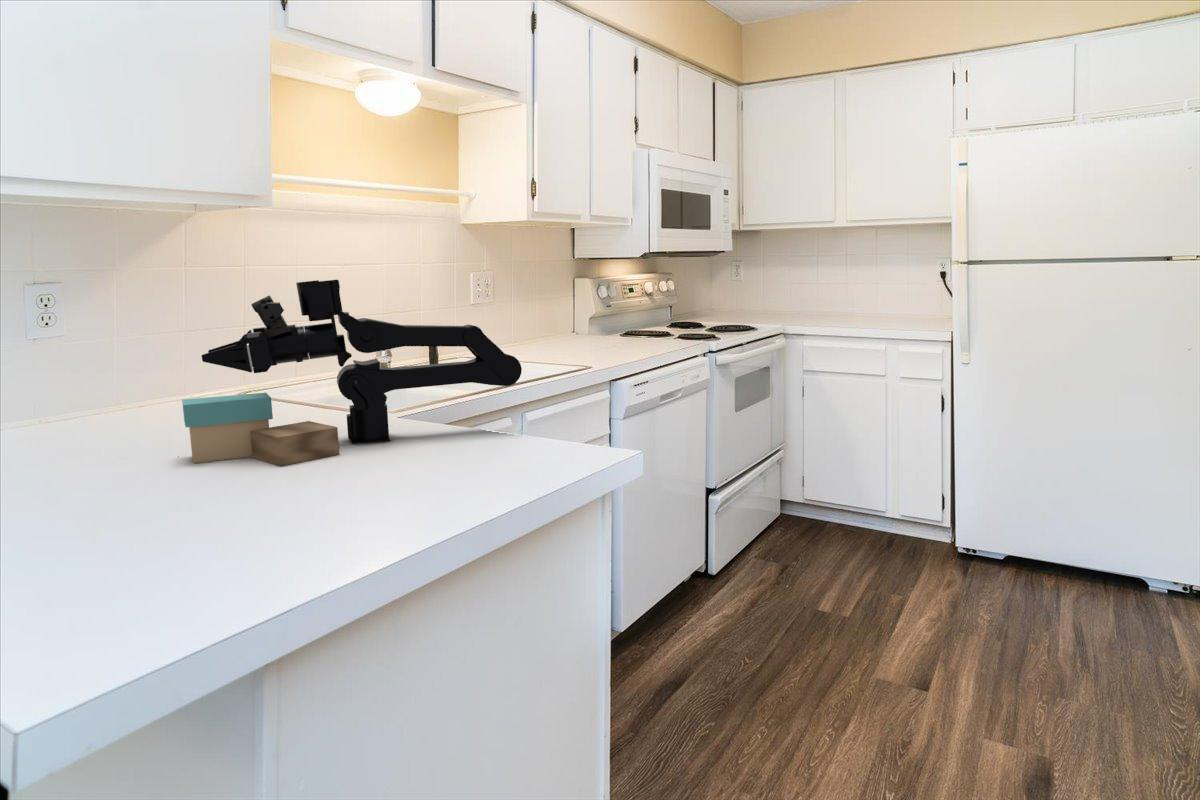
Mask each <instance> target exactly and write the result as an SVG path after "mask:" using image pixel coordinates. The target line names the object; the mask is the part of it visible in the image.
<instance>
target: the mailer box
mask: <svg viewBox="0 0 1200 800" xmlns="http://www.w3.org/2000/svg"><path fill="white" fill-rule="evenodd" d="M188 428H189V438H190V448H191V457H192V462H193V464H198V463H199V464H200V463H206V462H207V463H208V462H218V461H222V460H223V461H224V460H225V461H226V460H233V459H241V458H250V457H253V454H252V443H251V432H250V431H251V430H257V429H263V428H270V419H267V420H256V421H246V422H236V423H226V424H215V425H205V426H195V427H188Z"/></svg>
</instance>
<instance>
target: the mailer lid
mask: <svg viewBox="0 0 1200 800" xmlns="http://www.w3.org/2000/svg"><path fill="white" fill-rule="evenodd" d="M181 402H182V412H183V421H184V426H185V428H189V427H195V426H205V425H215V424H226V423H236V422H246V421H256V420H267V419H269V420H273V418H274V417H273V406H272V405H273V404H272V397H271V396H270V395H269V394H268V393H267V392H258V393H257V392H256V393H247V394H246V393H245V394H244V393H243V394H233V395H220V396H209V397H196V398H185V399H181Z"/></svg>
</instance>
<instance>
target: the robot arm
mask: <svg viewBox="0 0 1200 800" xmlns="http://www.w3.org/2000/svg"><path fill="white" fill-rule="evenodd" d="M295 284H296V289H297V295H298V301H299V306H300V307H299V308H300V313H301V316H307V317H308V321H309V322H318V321H319V322H321V321H324V320H325V321H326V320H331V322H327V323H319V324H312V325H311V324H310V325H303V326H301V325H300V326H296V324H289V325H288V323H287V321H286V320H285V318H284V316H283V315H282V314H283V312H284V311H285V309H284V308H283V306H282V305H281V302H275V301H274V300H273V298H272V296H271V295H269V294H268V295H267V296H265V297H263V298H261V299H259V300H256V301H254V302H253V303H251V307H252V309H253V311H254V312H255V313H257V315H258V316H259V318H260V319H261V322H262V323H263V325H264V326H263V327H262V326H261V327H255V328H252V329H249V330H248V331H247V332H246V333H245V334H243V335H242V336H241V338H240V339H239V340H236V341H234V342H233V341H232V342H230V343H227V344H224V345H221V346H218V347H215V348H211V349H208V350H207V351H208V352H207V353H203V354H201V360H202V362H203V363H208V364H212V365H216V366H220V367H226V368H230V369H234V370H238V371H243V372H247V373H253V374H260V373H267V372H268V371H269V369H270V368H271V367H273V366H277V365H279V364H286V363H294V362H296V363H302V362H304V361H308V360H314V359H322V358H324V359H325V358H328V357H329V358H330V357H337V363H338V366H339V367H342V368H341V369H340V370H339V371H338V372H337V373H338V374H337V376H336V384H337V386H338V390H339V392H340V393H341V395H342V396H343V397H344V398H346V399H347V400H349V401H351V403H352V404H351V405H349V406H348V407H349V413H348V414H346V425H347V426H346V427H347V429H346V430H347V439H348V440H349V441H350V442H351V445H362V444H372V443H374V442H375V443H384V442H386V441H387V442H391V436H390V431H389V429H390V428H389V415H388V405H387V403H386V402H387V399H388V397H387V394H386V393H389V392H392V391H395V390H405V389H414V388H415V389H417V388H425V387H426V388H427V387H436V386H437V387H438V386H447V385H457V384H460V385H461V384H467V383H473V384H482V385H489V386H499V387H501V386H502V387H511V386H512V385H515V384H516V383H517V382H518V381H519V379H520V378H521V375H522V370H523V369H522V365H521V362H520V361H519V359H517V358H516V357H515V356H513V355H510V354H509V353H505V352H504V351H503V350H502V349H500V347H499V346H497V345H496V344H495V343H494V342H493V341H492V340H491V339H490V338H489V337H488V336H487V335H486V334H485V333H484V332H483V330H482V329H481V328H480V327H478V326H477V325H473V324H465V325H433V324H432V325H421V324H420V325H419V324H416V325H415V324H398V323H392V322H387V321H385V320H384V321H383V320H378V319H373V318H366V317H362V318H355V317H354V316H351V315H350V313H349V312H348V311H343V305H342V300H341V293H340V288H341V287H340V286H341V285H340V280H338V279H329V280H319V279H318V280H317V279H316V280H309V281H307V280H306V281H300V282H299V281H298V282H296V283H295ZM335 316H337V319H338V320H337V321H338V323H339V325H341V327H342V328H343V329H345V331H346V332H347V333H346V337H347V340H348V342H349V343H350V346H352V347H353V348H354V350H356V351H357V352H360V353H363V354H370V353H377V352H382V351H388V350H393V349H397V348H401V347H466V348H467V350H468V351H470V352H471V354H472V355H473V356H474V357H475V358H472V359H469V360H466V361H453V362H444V363H443V362H442V363H434V364H433V363H430V364H420V365H418V364H417V365H409V366H397V367H386V366H381V362H380V361H379V359H377V358H372V359H368V360H363V361H360V360H355V359H353V360H352V361H353V363H351V364H347V365H345V364H346V362H347V361H348V360H349V359H351V358H352V357H353V355H352V353H350V352H349V351H347V347H346V341H345V335H344V334H338V332H337V324H336V320H335V319H336V318H335Z"/></svg>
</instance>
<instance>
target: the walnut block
mask: <svg viewBox="0 0 1200 800" xmlns="http://www.w3.org/2000/svg"><path fill="white" fill-rule="evenodd" d="M338 431H339V429H338V427H337V426H333V425H329V424H324V423H318V422H314V421H310V420H307V421H301V422H296V423H289V424H283V425H276V426H271V427H270V426H269V428H263V429H257V430H251V431H250V432H251V443H252V454H253V456H252V459H255V460H258V461H261V462H265V463H268V464H271V465H275V466H279V467H283V466H288V465H293V464H299V463H303V462H308V461H312V460H317V459H323V458H327V457H333V456H337V455H340V446H339V445H340V444H339V433H338Z"/></svg>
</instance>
